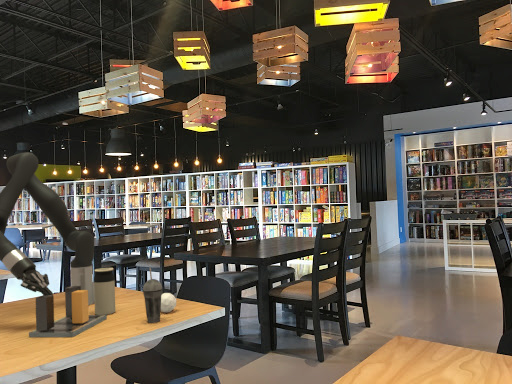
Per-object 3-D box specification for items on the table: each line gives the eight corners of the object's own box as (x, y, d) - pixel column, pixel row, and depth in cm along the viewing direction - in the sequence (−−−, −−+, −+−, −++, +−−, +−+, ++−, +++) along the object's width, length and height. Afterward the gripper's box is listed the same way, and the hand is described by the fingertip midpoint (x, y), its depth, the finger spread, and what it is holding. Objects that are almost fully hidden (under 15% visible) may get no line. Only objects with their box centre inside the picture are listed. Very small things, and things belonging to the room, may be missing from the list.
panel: (68, 319, 166) (67, 285, 166) (106, 318, 163) (105, 285, 164) (29, 337, 143) (28, 298, 143) (72, 337, 141) (71, 298, 141)
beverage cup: (167, 319, 159) (165, 265, 160) (156, 324, 152) (155, 268, 153) (150, 318, 161) (149, 265, 162) (139, 323, 154) (137, 268, 155)
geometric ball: (167, 317, 172) (172, 299, 177) (177, 313, 167) (181, 294, 172) (150, 311, 169) (156, 292, 174) (160, 306, 164) (166, 287, 169)
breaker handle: (78, 320, 155) (77, 290, 155) (88, 320, 154) (87, 290, 155) (72, 323, 151) (71, 292, 151) (82, 323, 150) (81, 292, 151)
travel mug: (108, 315, 168) (107, 270, 169) (90, 315, 170) (89, 270, 171) (119, 310, 176) (117, 267, 177) (101, 310, 178) (100, 267, 178)
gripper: (12, 259, 150) (45, 293, 148) (36, 254, 163) (67, 285, 161) (-1, 274, 151) (32, 308, 149) (25, 268, 164) (55, 299, 162)
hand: (50, 296), depth 155 cm, fingers closed
